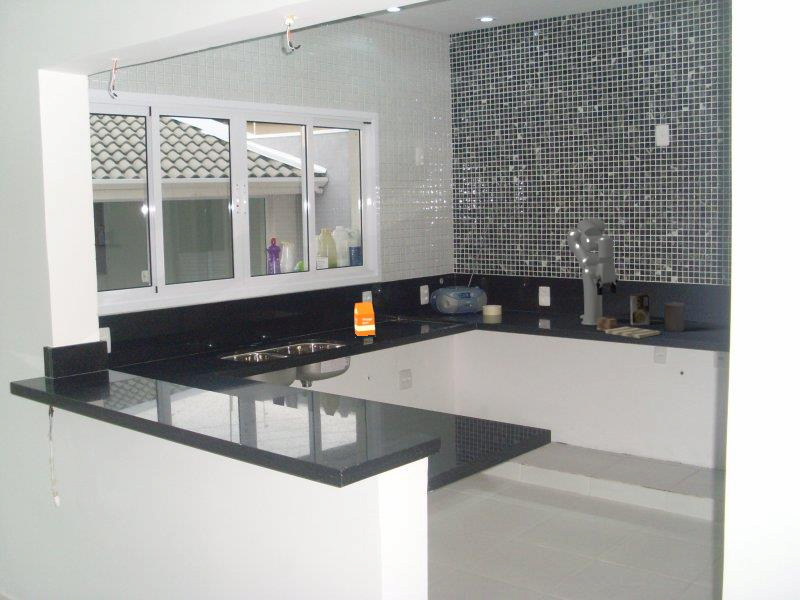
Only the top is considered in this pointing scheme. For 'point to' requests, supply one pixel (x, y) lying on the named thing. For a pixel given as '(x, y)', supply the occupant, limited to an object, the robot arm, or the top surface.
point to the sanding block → (606, 323)
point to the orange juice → (364, 319)
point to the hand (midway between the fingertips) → (606, 293)
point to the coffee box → (639, 309)
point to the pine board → (632, 332)
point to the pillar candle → (674, 317)
